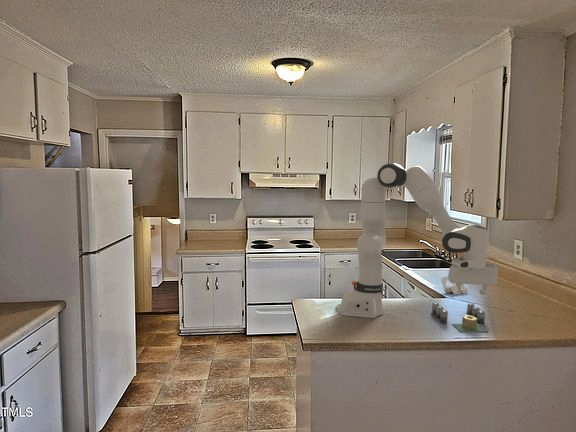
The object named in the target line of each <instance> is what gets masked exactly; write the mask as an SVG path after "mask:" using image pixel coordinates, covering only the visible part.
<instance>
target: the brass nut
mask: <svg viewBox="0 0 576 432" xmlns="http://www.w3.org/2000/svg"><path fill="white" fill-rule="evenodd" d="M461 324H462V327H464V328H465V329H469V330H475V329H477V324H478V323H477V318H475V317H474V316H470V315H467V314H465V315H462V321H461Z"/></svg>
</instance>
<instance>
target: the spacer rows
mask: <svg viewBox="0 0 576 432" xmlns="http://www.w3.org/2000/svg"><path fill="white" fill-rule="evenodd" d="M466 307H467V308H466V315H469V316H474V317H475V318H477V324H479V325H483V324H485V319H486V318H485V317H486V312H485V311H483V310H480V308H479V307H477V306H475V304H474V303H469V302H468V303H467V305H466ZM448 313H449V312H448V310H445V309H444V307H443V306H441V305H440V304H439V303H438V302H432V303H431V315H434V316H435V318H436V319H439V323H441V324H447V323H448Z"/></svg>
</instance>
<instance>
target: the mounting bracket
mask: <svg viewBox="0 0 576 432" xmlns="http://www.w3.org/2000/svg"><path fill="white" fill-rule="evenodd" d="M440 280H441V284H442V287H443V291H444V293H452V294H453V295H455V296H458V295H460V294H459V293H458V287H457V285H456V283H451V282H450V281H449V280H448V276H442V277H441V278H440ZM447 281H448V282H449V283H450V284H449V285H447ZM460 287H461V289H463V294H467V293H468V292H469V290H468V288H466V286H465V284H462V285H461V286H460Z"/></svg>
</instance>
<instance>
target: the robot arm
mask: <svg viewBox="0 0 576 432" xmlns="http://www.w3.org/2000/svg"><path fill="white" fill-rule="evenodd" d="M400 186H404V188H406V190H407V191H408V193H409V195H410V196H411V198H412V199H413V201H414V202H415V203H416V204H417V206H418V207H419V208H420V209H421V210H424V211H425V212H427V213H429V214H430V215H431V216H432V218H433V219H434V220H435V222H436V223H437V225H438V227H439V228H440V230H441V232H442V238H441V244H442V247H443V249H444V250H446V252H449V253H452V254H456V253H457V254H458V253H459V254H461V253H463V256H460V257H456V258H453V259H451V264H452V265H450V267H449V270H448V275H447V277H448V280H449V281H448V280H447V281H448V282H449V283H450V282H451V283H456V285H457V287H458V293H459V294H458V295H462V294H464V293H463V289H461V287H460V286H461V285H462V284H464V285H465V284H466V285H482V286H483V287H482V288H481V289H479V294H480V295H485V294H486V291H487V289H488V288H489V286H496V285H497V284H498V280H499V276H498V274H499V273H498V272H499V266H498V264H496V263H494V262H492V263H491V262H487V257H488V255H487V250H488V247H489V239H490V238H489V237H490V236H489V230H488V229H487V228H486V227H485V226H483V225H480V224H476V223H470V224H468V225H465V226H463V227H459V226H458V225H456V223H455V222H454V221H453V219H452V217H451V216H450V214H449V213H448V211H447V210H446V208H445V205H444V202H443V199H442V196H441V194H440V191H439V189H438V187H437V186H436V183H435V182H434V180H433V179H432V177H431V176H430V175H429V174H428V172H427V171H426V170H425V169H424V168H423V167H422V166H419V165H416V166H412V167H409V168H408V169H405V167H403V165H401V164H399V163H395V162H392V163H391V162H390V163H386V164H383V165H381V167H380V168H378V171H377V175H376V177H370V178H367V179H366V180H365V181H364V183H363V184H362V191H361V197H360V198H361V199H360V200H361V201H360V220H361V225H362V226H361V229H362V235H360V236H359V237H358V240H357V243H356V248H357V258H358V259H357V260H358V261H357V262H358V280H357V281H356V280H352V281H351V285H352V286H353V288H352V289H351V290H350V291H349V292H346V293H345V294H344V295H342V298H341V302H340V303H338V304H337V305H336V307H335V308H336V312H337V314H339V315H341V316H343V317H344V316H345V317H358V318H366V319H368V318H369V319H375V318H377V317H378V316H381V315H383V314H385V313H384V308H383V307H384V306H383V300H382V299H383V298H382V295H383V292H384V290H383V289H384V286H383V261H382V259H383V258H382V257H383V256H382V250H383V249H384V248H385V247H386V244H387V243H386V242H387V235H386V233H387V232H386V217H385V216H386V194H387V191H388V190H389V189H392V188H398V187H400ZM451 283H450V284H451Z"/></svg>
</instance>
